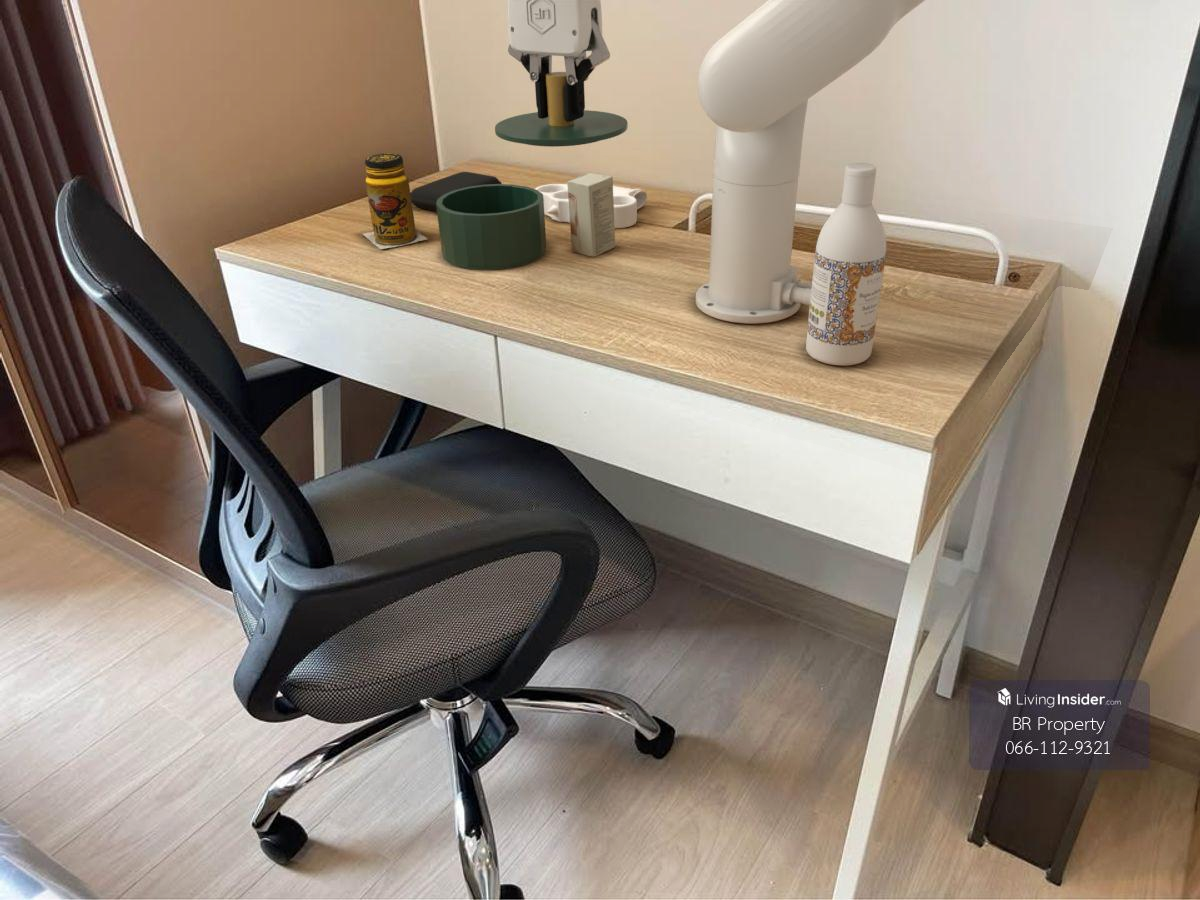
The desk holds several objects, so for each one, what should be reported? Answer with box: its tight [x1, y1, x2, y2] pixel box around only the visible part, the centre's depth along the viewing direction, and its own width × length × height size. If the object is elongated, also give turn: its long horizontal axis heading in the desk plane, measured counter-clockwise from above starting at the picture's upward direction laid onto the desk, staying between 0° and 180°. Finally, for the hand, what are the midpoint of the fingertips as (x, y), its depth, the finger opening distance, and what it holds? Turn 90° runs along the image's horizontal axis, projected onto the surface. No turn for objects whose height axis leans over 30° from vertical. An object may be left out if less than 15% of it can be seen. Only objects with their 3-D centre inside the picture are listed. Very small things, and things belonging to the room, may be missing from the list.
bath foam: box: [805, 162, 887, 367], centre depth 93 cm, size 7×7×20 cm
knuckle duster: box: [534, 183, 648, 229], centre depth 142 cm, size 3×18×15 cm
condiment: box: [362, 152, 428, 250], centre depth 132 cm, size 7×8×12 cm
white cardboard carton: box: [566, 172, 616, 258], centre depth 126 cm, size 5×4×10 cm
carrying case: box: [410, 171, 503, 212], centre depth 150 cm, size 11×3×15 cm
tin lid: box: [494, 71, 629, 148], centre depth 106 cm, size 16×16×7 cm
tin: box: [436, 183, 547, 271], centre depth 127 cm, size 15×15×8 cm
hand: (561, 116), depth 107 cm, fingers closed on tin lid, 3 cm apart
